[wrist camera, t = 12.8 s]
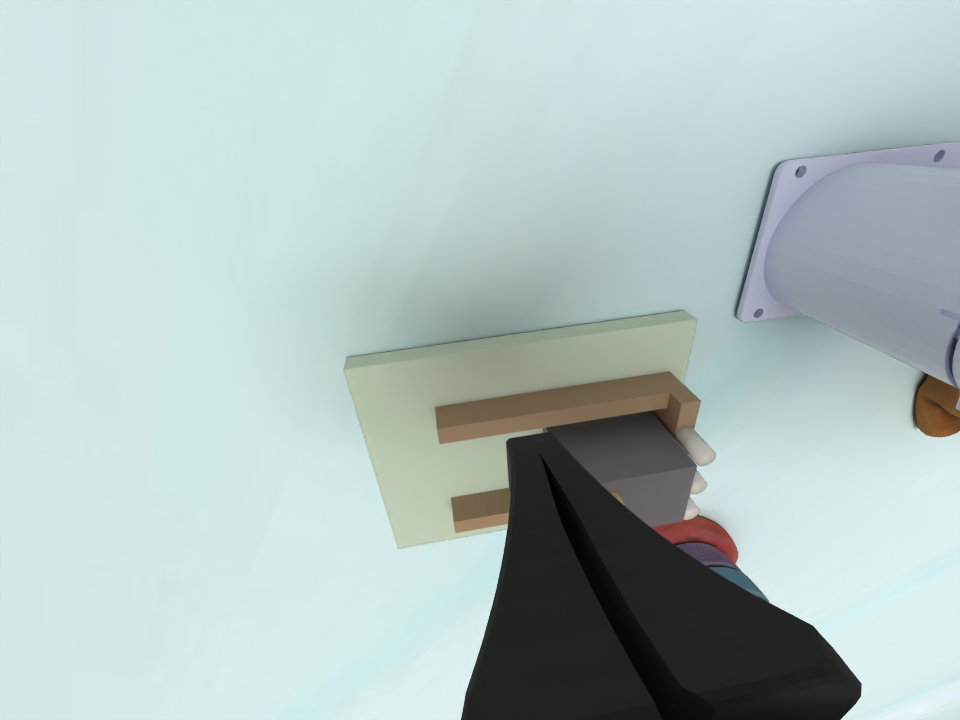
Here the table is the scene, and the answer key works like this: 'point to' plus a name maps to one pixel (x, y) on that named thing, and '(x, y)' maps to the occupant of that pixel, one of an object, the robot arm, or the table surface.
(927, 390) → the brown teddy bear
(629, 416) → the plug block
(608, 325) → the board
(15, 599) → the table surface
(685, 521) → the stacking bear
